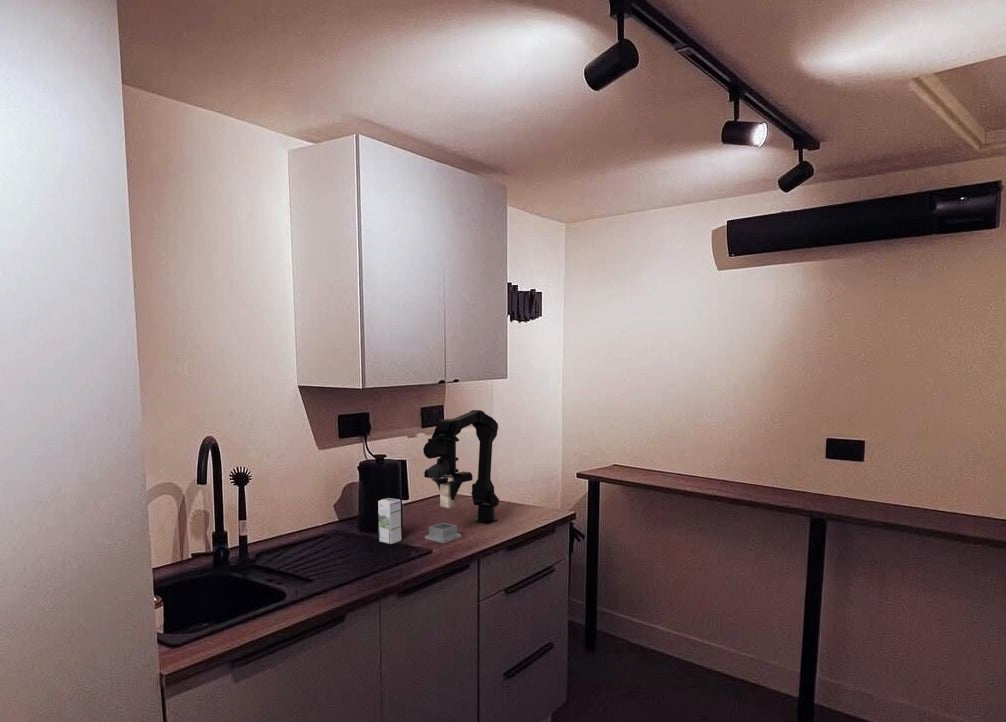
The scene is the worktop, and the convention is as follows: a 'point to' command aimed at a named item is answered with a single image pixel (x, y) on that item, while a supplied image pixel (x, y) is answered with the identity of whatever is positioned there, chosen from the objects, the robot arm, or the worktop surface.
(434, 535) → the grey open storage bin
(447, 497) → the beige rectangular block
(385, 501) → the syrup box
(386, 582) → the worktop surface
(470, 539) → the worktop surface
